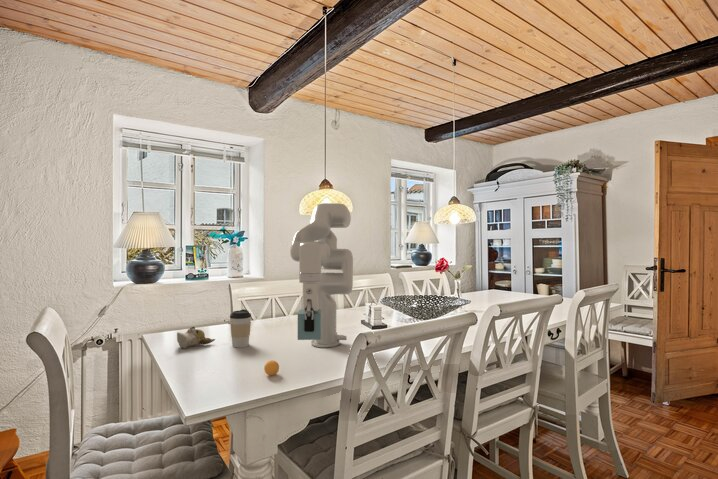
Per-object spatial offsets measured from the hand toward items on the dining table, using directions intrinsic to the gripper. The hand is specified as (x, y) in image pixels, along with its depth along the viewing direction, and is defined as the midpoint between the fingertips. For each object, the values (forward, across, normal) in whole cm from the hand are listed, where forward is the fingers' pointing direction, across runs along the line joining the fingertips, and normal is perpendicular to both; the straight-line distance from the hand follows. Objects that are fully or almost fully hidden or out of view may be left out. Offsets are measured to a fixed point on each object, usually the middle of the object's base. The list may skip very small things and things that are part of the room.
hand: (309, 328), depth 138 cm
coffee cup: (+16, +38, +32) cm, 52 cm away
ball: (+14, 0, +13) cm, 19 cm away
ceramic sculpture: (+16, +38, +52) cm, 66 cm away
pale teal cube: (+3, 0, 0) cm, 3 cm away
